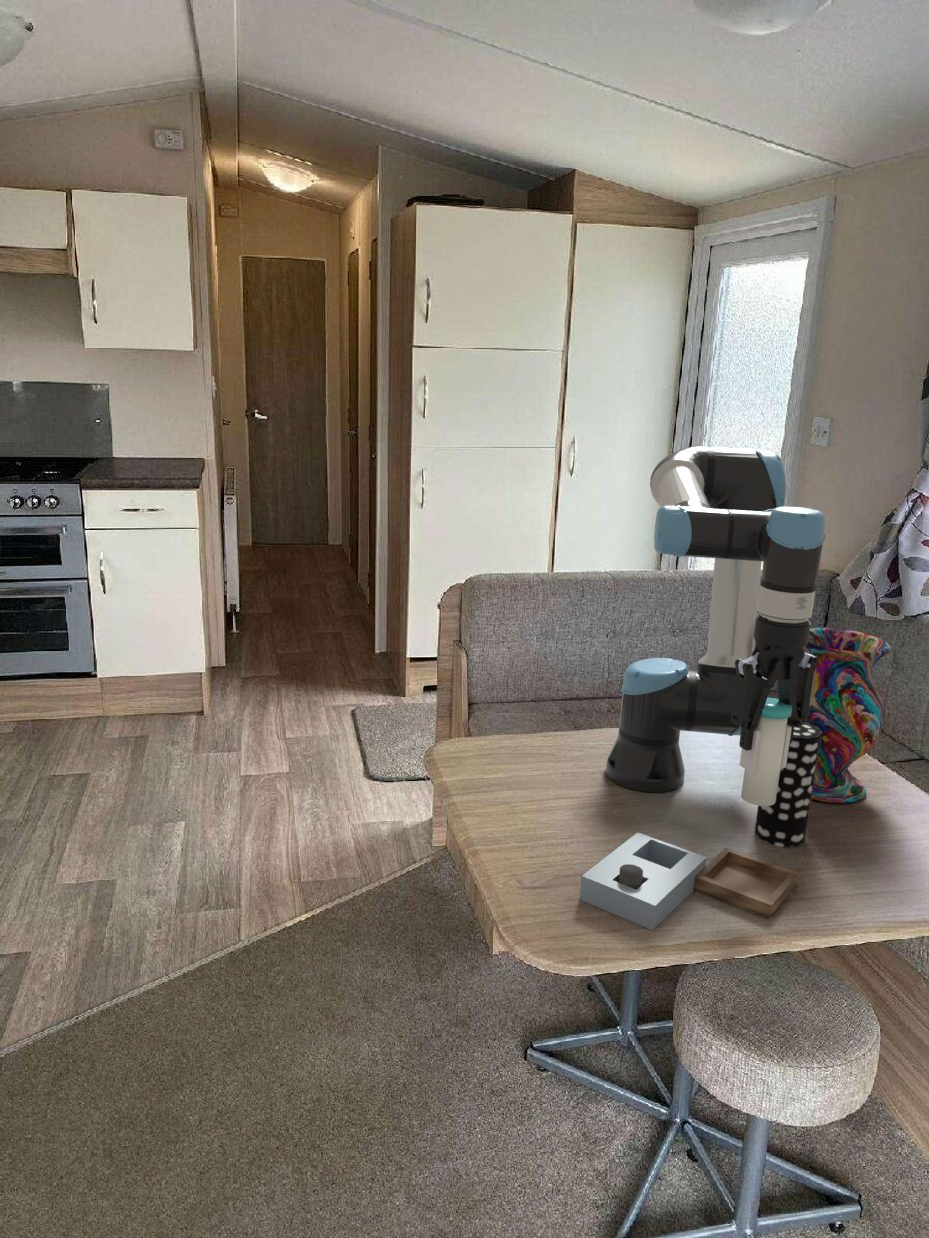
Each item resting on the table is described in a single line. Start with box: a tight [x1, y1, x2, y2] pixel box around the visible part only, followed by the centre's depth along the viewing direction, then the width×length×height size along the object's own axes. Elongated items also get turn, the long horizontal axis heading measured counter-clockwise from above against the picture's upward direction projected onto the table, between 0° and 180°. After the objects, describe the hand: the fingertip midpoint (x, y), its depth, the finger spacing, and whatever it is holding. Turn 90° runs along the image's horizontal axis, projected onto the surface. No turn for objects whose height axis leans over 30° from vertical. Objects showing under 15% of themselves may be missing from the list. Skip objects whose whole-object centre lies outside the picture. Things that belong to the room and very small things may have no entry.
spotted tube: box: [754, 721, 822, 848], centre depth 161 cm, size 8×8×20 cm
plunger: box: [618, 864, 643, 890], centre depth 140 cm, size 3×3×4 cm
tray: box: [693, 846, 800, 920], centre depth 146 cm, size 12×12×2 cm
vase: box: [799, 627, 891, 804], centre depth 181 cm, size 18×18×30 cm
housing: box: [579, 831, 708, 931], centre depth 144 cm, size 12×18×4 cm, turn 143°
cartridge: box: [740, 697, 792, 807], centre depth 140 cm, size 6×6×15 cm
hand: (762, 766), depth 141 cm, fingers closed on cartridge, 5 cm apart
